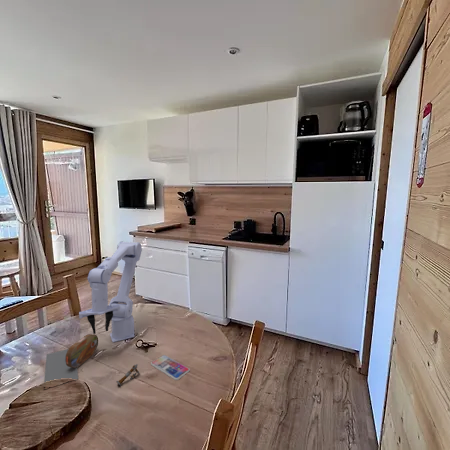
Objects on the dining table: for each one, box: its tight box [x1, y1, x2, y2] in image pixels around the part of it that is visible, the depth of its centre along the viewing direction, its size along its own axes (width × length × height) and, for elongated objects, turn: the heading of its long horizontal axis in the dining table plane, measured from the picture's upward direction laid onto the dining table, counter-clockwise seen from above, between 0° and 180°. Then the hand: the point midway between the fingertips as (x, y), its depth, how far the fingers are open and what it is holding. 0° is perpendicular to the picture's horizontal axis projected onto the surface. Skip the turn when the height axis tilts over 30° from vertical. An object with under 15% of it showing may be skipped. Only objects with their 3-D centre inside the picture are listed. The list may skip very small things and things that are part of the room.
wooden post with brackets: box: [116, 363, 140, 387], centre depth 91 cm, size 2×8×4 cm, turn 140°
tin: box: [65, 333, 99, 369], centre depth 101 cm, size 15×3×8 cm, turn 169°
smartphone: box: [150, 354, 191, 381], centre depth 99 cm, size 7×1×15 cm
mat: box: [43, 348, 79, 383], centre depth 98 cm, size 10×22×1 cm, turn 32°
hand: (100, 331), depth 103 cm, fingers open, 4 cm apart
